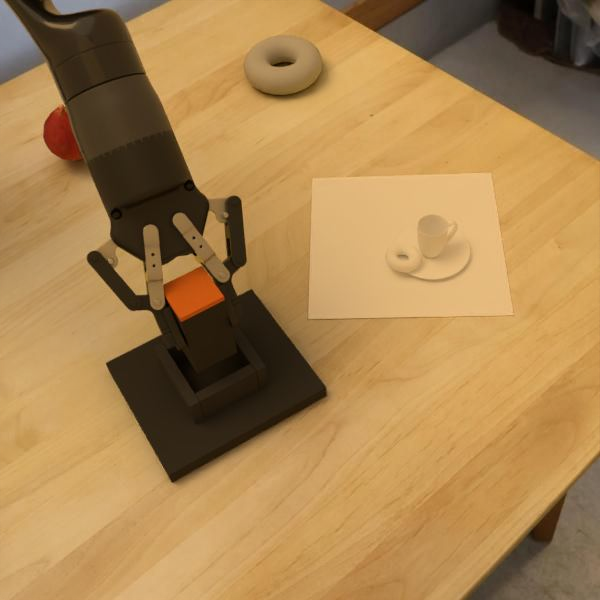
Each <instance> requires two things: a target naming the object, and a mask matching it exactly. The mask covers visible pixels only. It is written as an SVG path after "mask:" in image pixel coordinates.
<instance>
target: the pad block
mask: <svg viewBox="0 0 600 600" xmlns="http://www.w3.org/2000/svg"><path fill="white" fill-rule="evenodd" d="M163 287H164V296H165V303H166V305H167V306H170V308H171V311H172V313H173V315H174V318H175V320H176V322H177V325H178V327H179V330H180V332H181V334H182V337H183V339H184V341H185V344H186V348H184V349H182V350H183V352H184V353H185V355H186V356H187V358H188V360H189V361H190V363H191V364H192V366H193V367H194V369H195V370H196V372H197V373H199V372H201V371H203V370H205V369H207V368H209V367H211V366H213V365H215V364H216V363H218V362H220V361H222V360H224V359H226V358H228V357H230V356H231V355H233V354H235V353H237V348H236V344H235V340H234V336H233V332H232V328H231V325H230V321H229V317H228V311H227V307H226V303H225V299H224V296H223V294H222V293H221V292H220V290H219V289H218V287H217V286H216V285H215V283H214V281H213V279H212V278H211V276H210V275H209V274H208V273H207V271H206V270H205V269H204V268H203V266H202V265H200V266H198V267H197V268H195V269H193V270H191V271H188V272H187V273H184V274H182V275H180V276H178V277H176V278H173V279H172V280H170V281H168V282H166V283H163Z"/></svg>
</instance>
